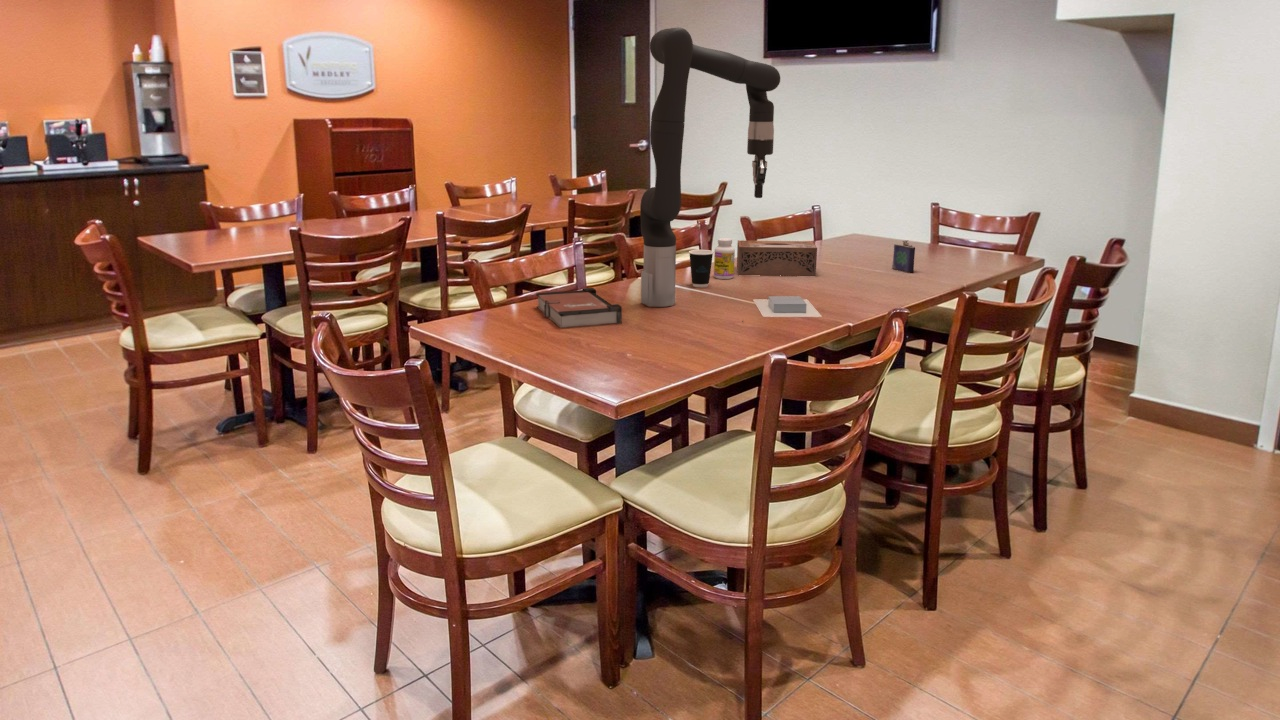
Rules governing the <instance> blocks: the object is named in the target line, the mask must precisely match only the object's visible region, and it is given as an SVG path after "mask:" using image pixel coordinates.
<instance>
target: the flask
mask: <svg viewBox="0 0 1280 720" xmlns="http://www.w3.org/2000/svg"><path fill="white" fill-rule="evenodd" d="M902 243H903V244H902ZM902 243H894V245H893V256H892V266H891V269H892V270H893V271H897V270H898V272H903V273H907V274H914V269H915V268H914V267H915V255H916V246H913V244H910V243H909V240H902Z"/></svg>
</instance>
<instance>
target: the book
mask: <svg viewBox="0 0 1280 720" xmlns="http://www.w3.org/2000/svg"><path fill="white" fill-rule="evenodd" d="M535 295H536V297H537V304H538V306H536V308H537V309H538V310H540V312H542V314H543V315H544V317H545V319H549V320H550V321H551V322H553V324H555V326H557V327H558V328H559V330H560V329H561V330H562V329H572V328H574V329H575V328H583V327H584V328H585V327H595V326H607V325H618V324H620V325H621V324H622V323H623V313H622V312H623V311H622V310H623V309H622V308H623V307H622V306H621V305H620V304H617V303H616V304H612V303H610V302H609V301H607V300H606V299H605V298H602V297H601V296H600V295H598V294H597V290H596V288H594V287H588V288H587V287H586V288H582V289H579V290H566V291H550V292H536V294H535Z"/></svg>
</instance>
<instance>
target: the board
mask: <svg viewBox="0 0 1280 720" xmlns="http://www.w3.org/2000/svg"><path fill="white" fill-rule="evenodd" d="M802 299H803V298H802ZM752 300H753V302H754V304H755V305H756V307H757V309H758V310H759V312H760V314H761V316H762V317H763V318H823V316H822V314H821V313H820V312H819V311H818V310H817V309H816V308H815V306H814V305H813V304H812V303H811V302H810V301H809V299H806V298H805V299H803V300H804V301H805V303H806V304H807V307H806V313H773V311H772V310H771V308H770V307H769V305H768V300H769V298H768V299H767V298H765V299H764V298H761V299H759V298H758V299H757V298H756V299H755V298H754V299H752Z"/></svg>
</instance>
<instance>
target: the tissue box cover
mask: <svg viewBox="0 0 1280 720" xmlns="http://www.w3.org/2000/svg"><path fill="white" fill-rule="evenodd" d="M736 254H737V255H736V270H738V271H737V275H738V276H739V275H760V276H759V277H797V276H816V277H817V275H816V274H817V259H818V258H817V257H818V247H817V246H816V245H815V243H814V242H813V241H811V240H809V241H808V240H800V241H799V240H740V239H739V240H737V253H736ZM780 275H781V276H780Z"/></svg>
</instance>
